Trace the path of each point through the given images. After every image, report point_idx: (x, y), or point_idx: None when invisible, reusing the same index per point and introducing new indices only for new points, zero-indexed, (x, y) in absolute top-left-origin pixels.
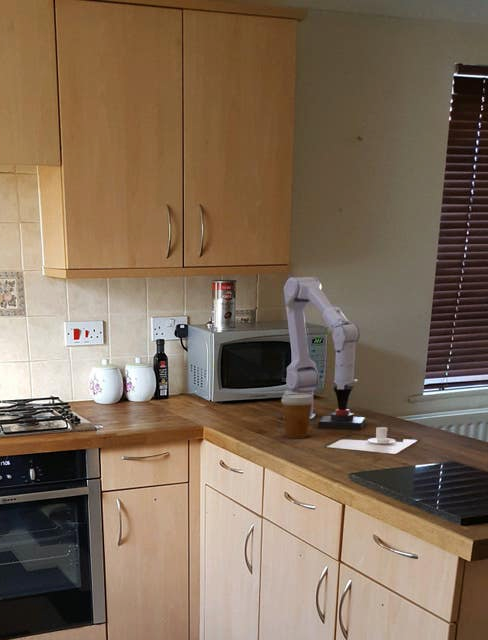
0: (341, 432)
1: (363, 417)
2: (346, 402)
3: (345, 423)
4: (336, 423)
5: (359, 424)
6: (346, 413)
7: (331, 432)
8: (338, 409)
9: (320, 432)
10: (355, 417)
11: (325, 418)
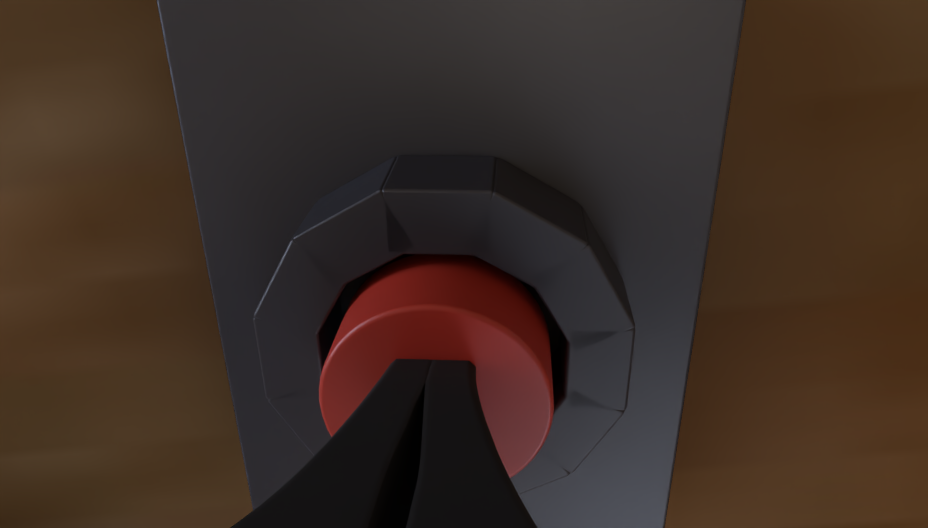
0: (890, 224)
1: (182, 6)
2: (496, 449)
3: (705, 236)
4: (685, 351)
5: (741, 6)
6: (515, 308)
7: (886, 339)
8: None
9: (882, 447)
10: (227, 142)
11: None
